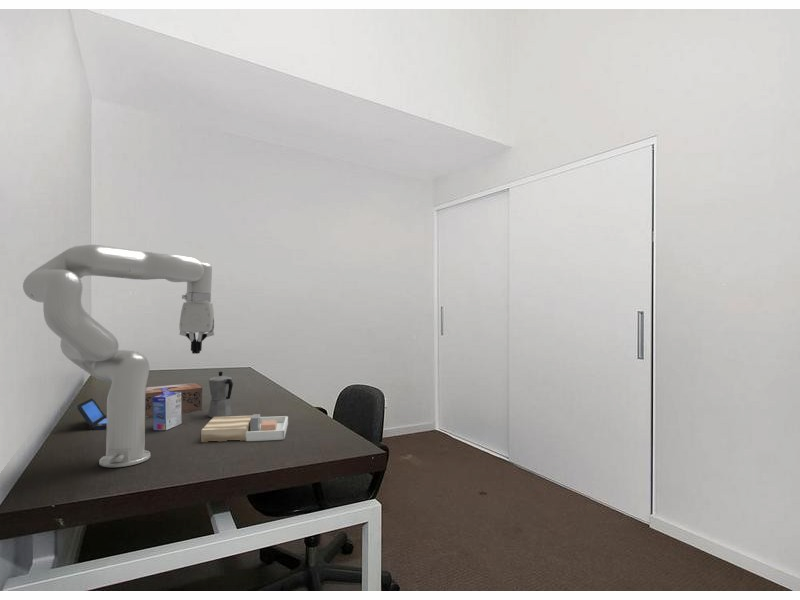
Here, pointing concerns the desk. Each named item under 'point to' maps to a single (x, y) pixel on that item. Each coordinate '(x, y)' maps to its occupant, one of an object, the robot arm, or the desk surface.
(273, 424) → the salmon pink block
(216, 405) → the coffeepot
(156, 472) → the desk surface
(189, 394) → the tissue box cover
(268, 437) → the box
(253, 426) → the slate tile
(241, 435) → the plate
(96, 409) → the handheld game console
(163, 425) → the ink cartridge box
